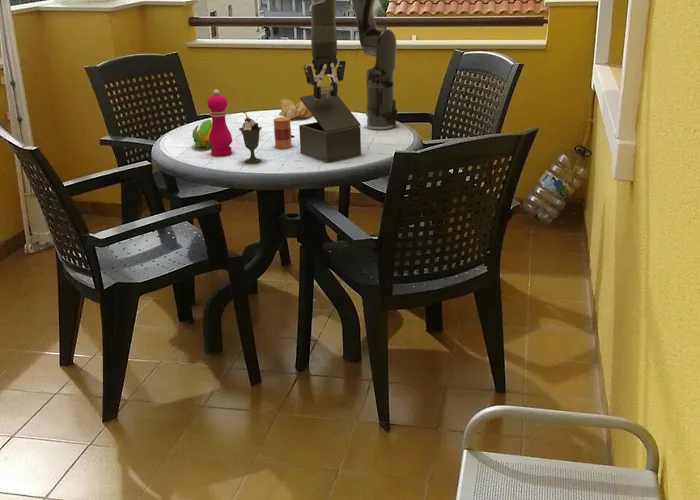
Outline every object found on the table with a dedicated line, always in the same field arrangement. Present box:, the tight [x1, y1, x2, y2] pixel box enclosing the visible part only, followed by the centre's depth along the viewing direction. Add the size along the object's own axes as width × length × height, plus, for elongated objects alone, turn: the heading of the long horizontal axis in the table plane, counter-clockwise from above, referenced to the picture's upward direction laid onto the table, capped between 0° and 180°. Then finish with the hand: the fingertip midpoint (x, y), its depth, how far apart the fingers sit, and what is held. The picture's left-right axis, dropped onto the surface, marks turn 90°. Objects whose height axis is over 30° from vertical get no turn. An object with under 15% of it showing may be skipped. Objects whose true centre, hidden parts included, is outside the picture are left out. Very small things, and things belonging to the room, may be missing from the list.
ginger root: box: [278, 98, 313, 120], centre depth 299 cm, size 16×16×8 cm
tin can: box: [273, 116, 293, 150], centre depth 258 cm, size 5×5×9 cm
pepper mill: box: [206, 89, 233, 157], centre depth 250 cm, size 7×7×20 cm
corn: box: [191, 119, 212, 148], centre depth 265 cm, size 7×8×20 cm
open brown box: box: [298, 121, 362, 163], centre depth 249 cm, size 15×13×9 cm
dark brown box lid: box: [299, 84, 361, 133], centre depth 243 cm, size 16×13×6 cm
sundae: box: [238, 111, 263, 164], centre depth 242 cm, size 7×7×15 cm
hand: (325, 96), depth 245 cm, fingers closed on dark brown box lid, 5 cm apart
